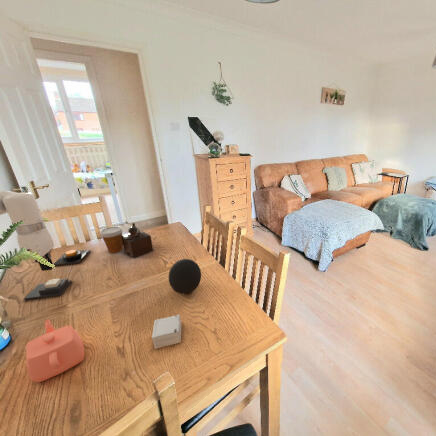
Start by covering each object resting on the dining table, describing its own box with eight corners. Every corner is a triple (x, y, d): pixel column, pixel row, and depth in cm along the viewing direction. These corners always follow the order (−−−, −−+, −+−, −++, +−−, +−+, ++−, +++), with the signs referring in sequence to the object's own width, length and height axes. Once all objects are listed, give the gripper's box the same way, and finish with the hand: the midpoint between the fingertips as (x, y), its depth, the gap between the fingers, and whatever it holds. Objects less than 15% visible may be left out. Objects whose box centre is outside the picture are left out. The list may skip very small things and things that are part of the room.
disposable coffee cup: (101, 255, 123) (95, 234, 118) (110, 246, 131) (104, 226, 127) (122, 253, 125) (117, 233, 121) (129, 245, 134) (125, 225, 129)
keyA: (45, 288, 94) (44, 285, 94) (50, 283, 98) (49, 279, 97) (56, 287, 96) (55, 283, 95) (61, 281, 99) (60, 278, 98)
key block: (53, 266, 112) (51, 261, 111) (67, 253, 123) (65, 249, 122) (79, 263, 115) (77, 259, 114) (90, 251, 126) (88, 247, 125)
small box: (157, 330, 82) (154, 319, 80) (182, 325, 85) (180, 313, 83) (153, 349, 75) (151, 337, 73) (181, 343, 78) (179, 331, 76)
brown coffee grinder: (122, 252, 126) (114, 221, 120) (144, 244, 135) (138, 215, 128) (137, 262, 119) (129, 229, 112) (159, 253, 127) (153, 222, 120)
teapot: (33, 399, 61) (17, 371, 57) (31, 353, 72) (18, 327, 68) (90, 369, 69) (79, 342, 65) (80, 331, 80) (71, 307, 76)
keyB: (64, 257, 116) (63, 254, 115) (68, 253, 119) (67, 250, 119) (74, 256, 117) (73, 253, 116) (78, 252, 120) (77, 249, 120)
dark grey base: (24, 301, 91) (21, 294, 90) (39, 286, 99) (37, 280, 98) (60, 296, 95) (57, 290, 93) (71, 282, 103) (69, 276, 101)
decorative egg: (186, 279, 109) (182, 250, 103) (208, 286, 105) (205, 257, 99) (164, 295, 98) (158, 264, 92) (188, 304, 94) (183, 272, 88)
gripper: (31, 219, 92) (47, 260, 99) (1, 236, 79) (23, 282, 86) (55, 218, 94) (69, 258, 101) (30, 234, 81) (48, 278, 88)
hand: (48, 269), depth 94 cm, fingers closed
